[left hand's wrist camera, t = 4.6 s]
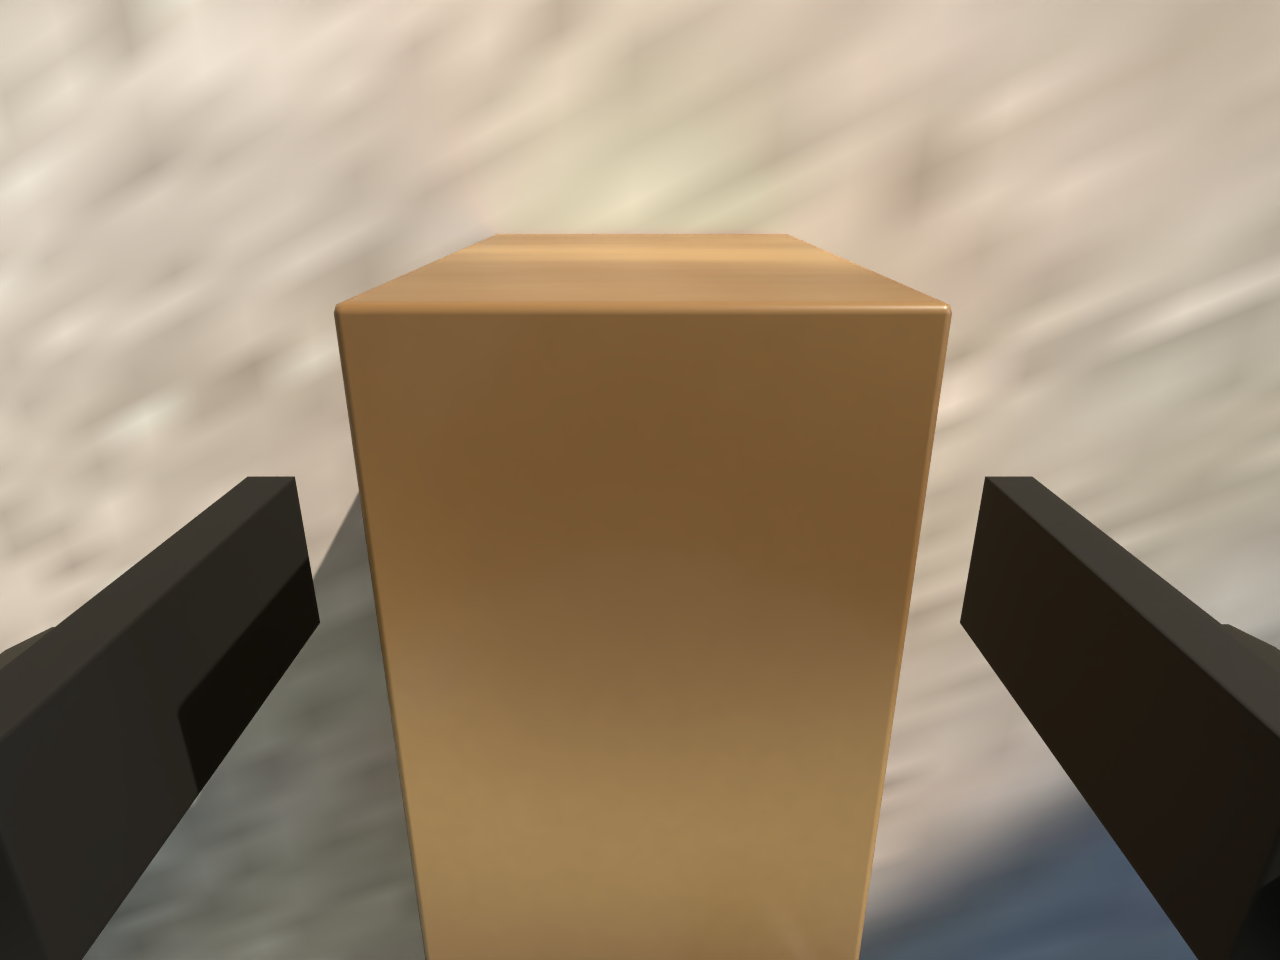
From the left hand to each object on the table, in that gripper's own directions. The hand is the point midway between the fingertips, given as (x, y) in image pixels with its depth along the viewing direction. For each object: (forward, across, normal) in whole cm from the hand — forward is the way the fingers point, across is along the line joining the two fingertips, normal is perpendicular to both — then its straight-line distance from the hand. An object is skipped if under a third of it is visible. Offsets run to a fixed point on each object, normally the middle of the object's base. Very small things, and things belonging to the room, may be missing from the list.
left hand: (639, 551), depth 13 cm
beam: (+2, 0, -31) cm, 31 cm away
